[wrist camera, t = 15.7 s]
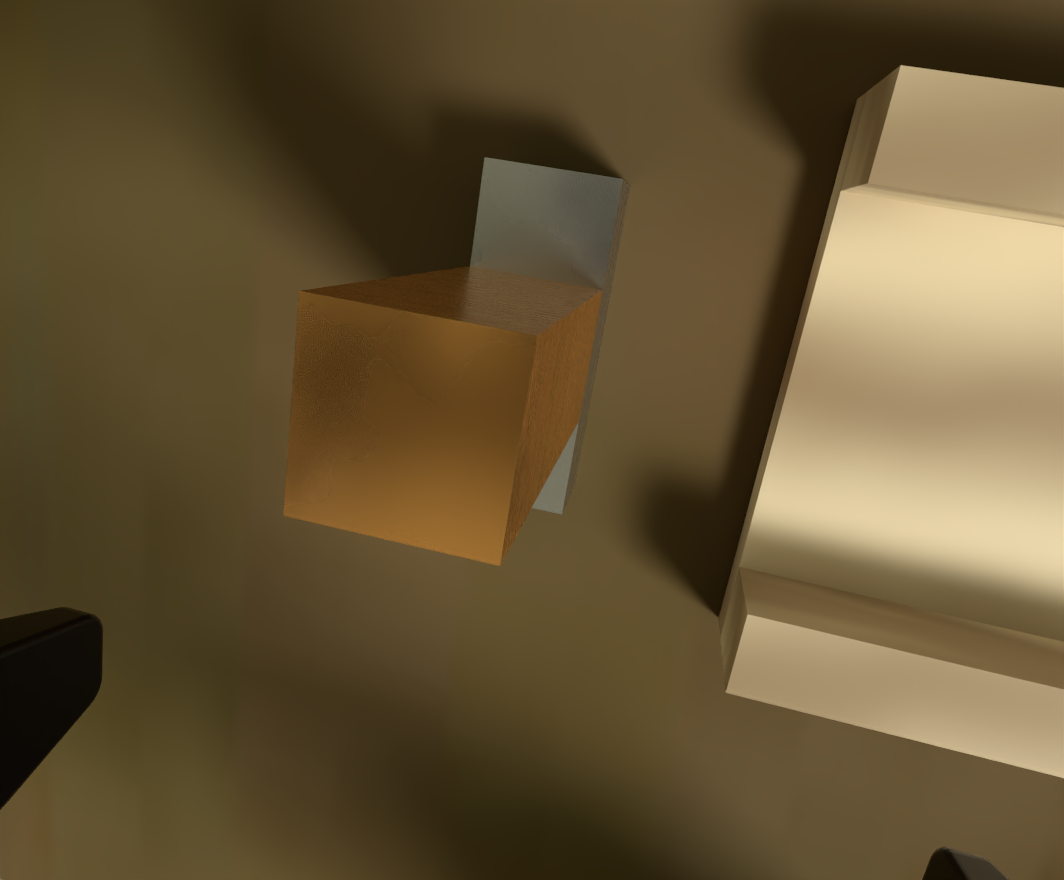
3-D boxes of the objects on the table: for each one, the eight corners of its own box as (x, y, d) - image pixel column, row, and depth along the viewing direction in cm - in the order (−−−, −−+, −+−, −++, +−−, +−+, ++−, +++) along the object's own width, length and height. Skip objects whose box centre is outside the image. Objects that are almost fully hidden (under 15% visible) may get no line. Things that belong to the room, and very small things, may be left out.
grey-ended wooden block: (575, 482, 20) (475, 716, 10) (467, 460, 21) (272, 664, 11) (630, 186, 18) (570, 127, 8) (508, 166, 19) (313, 88, 9)
